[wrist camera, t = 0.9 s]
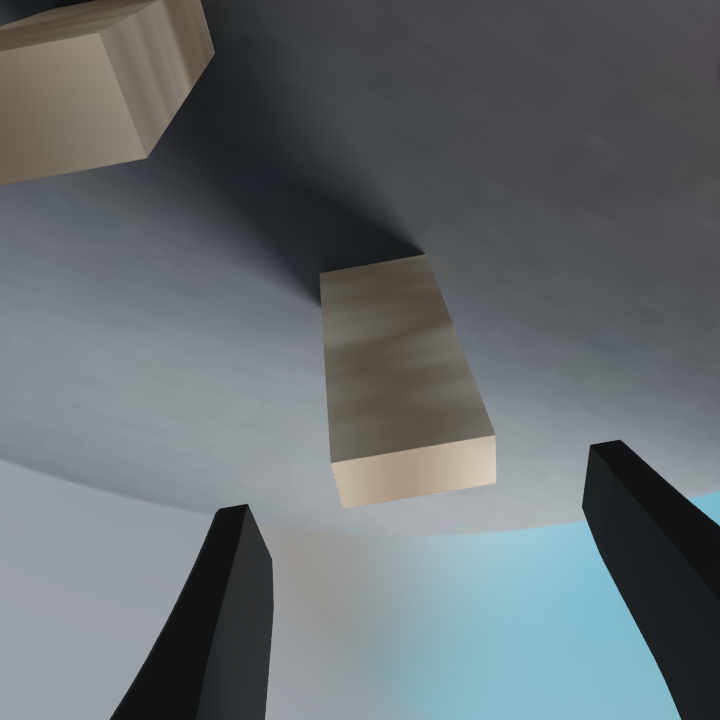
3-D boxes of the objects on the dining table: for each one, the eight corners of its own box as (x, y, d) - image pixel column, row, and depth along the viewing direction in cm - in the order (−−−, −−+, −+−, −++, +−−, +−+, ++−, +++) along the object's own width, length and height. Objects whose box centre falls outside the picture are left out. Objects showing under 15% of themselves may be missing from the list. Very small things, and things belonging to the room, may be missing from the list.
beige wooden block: (194, -20, 14) (99, 32, 7) (215, 53, 15) (147, 158, 8) (52, 9, 14) (-175, 85, 7) (81, 79, 15) (-95, 203, 8)
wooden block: (425, 254, 19) (495, 434, 12) (429, 294, 20) (496, 482, 13) (319, 273, 19) (330, 463, 12) (328, 312, 20) (343, 508, 13)
